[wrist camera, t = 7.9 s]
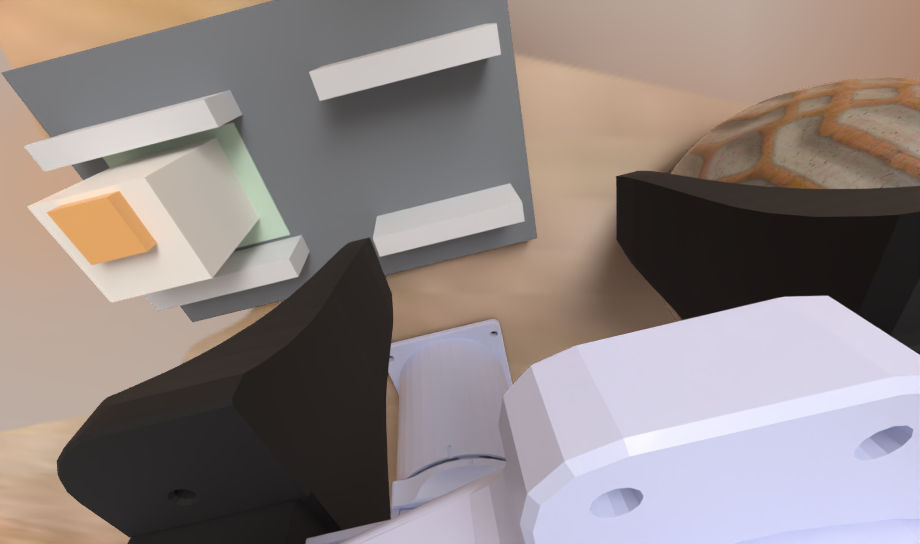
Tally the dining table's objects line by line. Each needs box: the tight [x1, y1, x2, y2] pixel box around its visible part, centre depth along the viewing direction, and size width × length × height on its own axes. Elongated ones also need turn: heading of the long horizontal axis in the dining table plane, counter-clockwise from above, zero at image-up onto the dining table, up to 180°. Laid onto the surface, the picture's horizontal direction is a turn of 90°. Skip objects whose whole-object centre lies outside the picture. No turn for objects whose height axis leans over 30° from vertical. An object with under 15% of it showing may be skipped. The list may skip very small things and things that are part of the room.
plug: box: [28, 137, 259, 303], centre depth 16 cm, size 4×4×6 cm
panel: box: [2, 0, 537, 322], centre depth 18 cm, size 13×20×4 cm, turn 103°
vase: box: [662, 77, 920, 321], centre depth 15 cm, size 13×13×18 cm
